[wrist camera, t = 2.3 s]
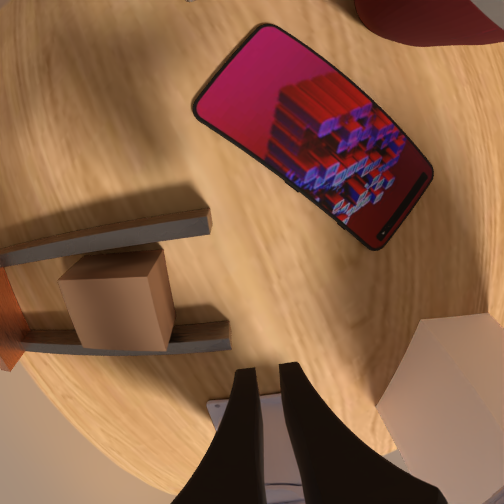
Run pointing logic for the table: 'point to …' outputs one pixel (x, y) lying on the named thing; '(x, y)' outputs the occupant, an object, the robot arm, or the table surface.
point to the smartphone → (316, 133)
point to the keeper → (120, 301)
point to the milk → (451, 406)
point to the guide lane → (88, 240)
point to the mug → (434, 21)
